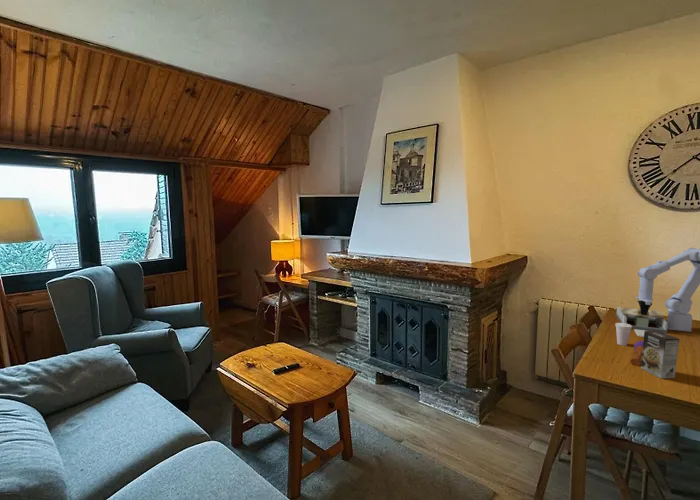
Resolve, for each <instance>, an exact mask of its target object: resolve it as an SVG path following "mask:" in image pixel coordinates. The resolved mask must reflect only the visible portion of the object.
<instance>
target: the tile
mask: <svg viewBox="0 0 700 500" xmlns="http://www.w3.org/2000/svg"><path fill="white" fill-rule="evenodd" d="M633 331H634V333H635V334H636V335H637V336H638V337H641V338H644V331H645V330H637V329H633Z"/></svg>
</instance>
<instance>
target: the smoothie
mask: <svg viewBox="0 0 700 500" xmlns="http://www.w3.org/2000/svg"><path fill="white" fill-rule="evenodd" d="M624 320H625V316H623V323H621V322H616V323H615V324H614V325H615V328H616V329H615V331H616V344H617V345H620V346H624V347H626V346H627V345H628V342H629V338H630V335H631V330H633V329H632V326H631V325H632V324H630V323H629V324H628V323H627V324H626V323H624Z"/></svg>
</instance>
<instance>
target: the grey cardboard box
mask: <svg viewBox="0 0 700 500" xmlns="http://www.w3.org/2000/svg"><path fill="white" fill-rule="evenodd" d="M642 341H643V352H642V355H641V364H640V369H642V370H643V371H645V372H647V373H650V374H651V375H653V376H655V377H657V378H659V379H674V378H676V369H677V361H678V353H679V347H680V345H679V344H680V338H678V337H676V336H673V335H670V334H668V333H663V332H660V331H644V337H643V340H642Z"/></svg>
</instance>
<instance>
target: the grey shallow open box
mask: <svg viewBox="0 0 700 500" xmlns="http://www.w3.org/2000/svg"><path fill="white" fill-rule="evenodd" d="M619 307H620V306H616V313H615V316H616V317H617V319H618V320H619V323H623V316H625V320H624V323H626V324H628V321H629V322H635V316H633V315H624V314H623V313H622V312H621V310H620V309H619ZM652 311H656V310H655V309H653V310H652ZM648 318H649V322H648V324H654V325H655V326H656V327H650V326H648V327H643V326H636V325H635V324H634V325H633V324H630V325H631V326H632V329H631V330H634V329H637V330H645V331H660V332H663V333H666V334H668V329H667V326H668V323H667V320H666V319H665V318H664V319H661V318H652V317H648Z"/></svg>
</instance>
